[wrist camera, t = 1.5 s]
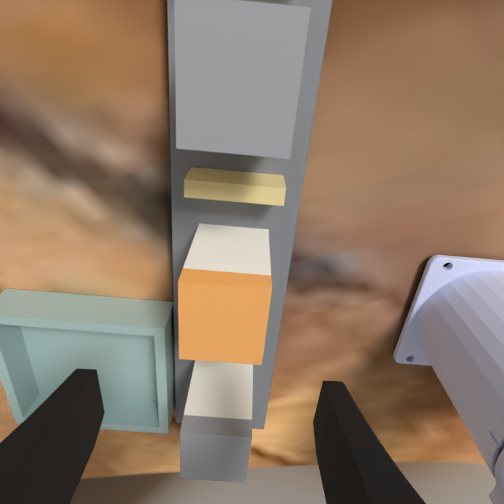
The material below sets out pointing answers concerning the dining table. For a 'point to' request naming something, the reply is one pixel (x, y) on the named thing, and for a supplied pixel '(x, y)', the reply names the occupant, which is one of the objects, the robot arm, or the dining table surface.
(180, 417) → the block
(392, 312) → the dining table surface
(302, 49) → the block
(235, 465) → the block
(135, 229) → the dining table surface
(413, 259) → the dining table surface
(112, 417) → the tray
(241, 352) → the block
